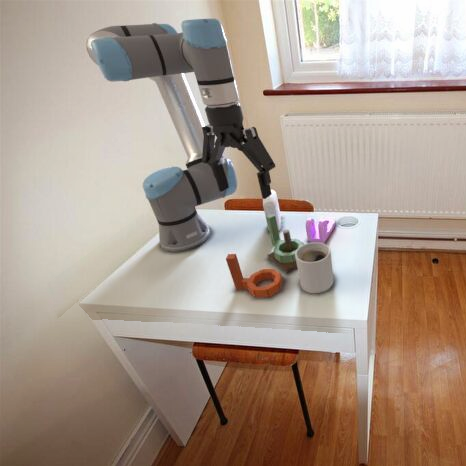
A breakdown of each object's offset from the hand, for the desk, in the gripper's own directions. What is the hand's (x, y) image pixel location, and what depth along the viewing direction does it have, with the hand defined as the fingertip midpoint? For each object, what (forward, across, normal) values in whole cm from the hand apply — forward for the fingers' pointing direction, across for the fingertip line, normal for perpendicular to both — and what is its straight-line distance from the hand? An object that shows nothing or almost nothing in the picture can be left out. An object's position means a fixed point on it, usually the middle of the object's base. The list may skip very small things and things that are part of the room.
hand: (245, 192), depth 82 cm
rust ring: (+23, +5, -8) cm, 25 cm away
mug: (+23, +18, 0) cm, 30 cm away
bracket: (+23, +8, +22) cm, 33 cm away
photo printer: (+23, -10, +20) cm, 32 cm away
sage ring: (+22, +4, +6) cm, 23 cm away
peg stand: (+23, +6, +6) cm, 24 cm away
